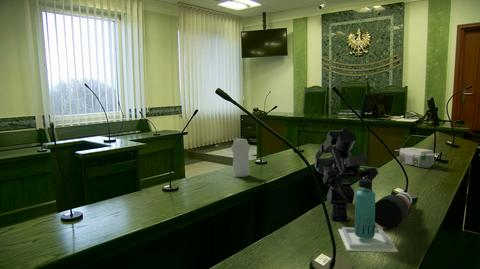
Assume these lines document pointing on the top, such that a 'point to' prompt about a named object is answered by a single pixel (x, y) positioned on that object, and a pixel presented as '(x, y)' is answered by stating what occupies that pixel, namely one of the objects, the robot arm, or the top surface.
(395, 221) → the black cylinder
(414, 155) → the electrical outlet
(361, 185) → the beverage bottle
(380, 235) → the white square tray
